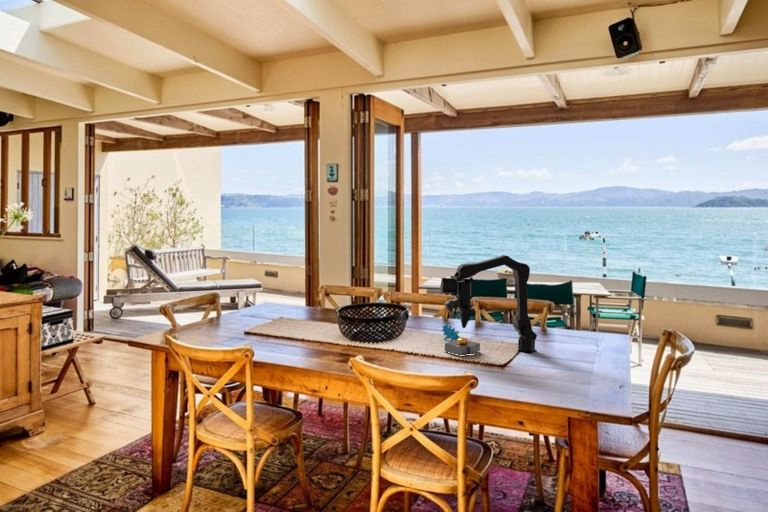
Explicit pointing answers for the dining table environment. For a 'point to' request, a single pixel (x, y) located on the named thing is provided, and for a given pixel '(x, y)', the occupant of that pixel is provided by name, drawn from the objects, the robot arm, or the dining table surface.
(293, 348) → the dining table surface
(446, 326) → the blue lobed piece
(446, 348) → the block
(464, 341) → the pin
